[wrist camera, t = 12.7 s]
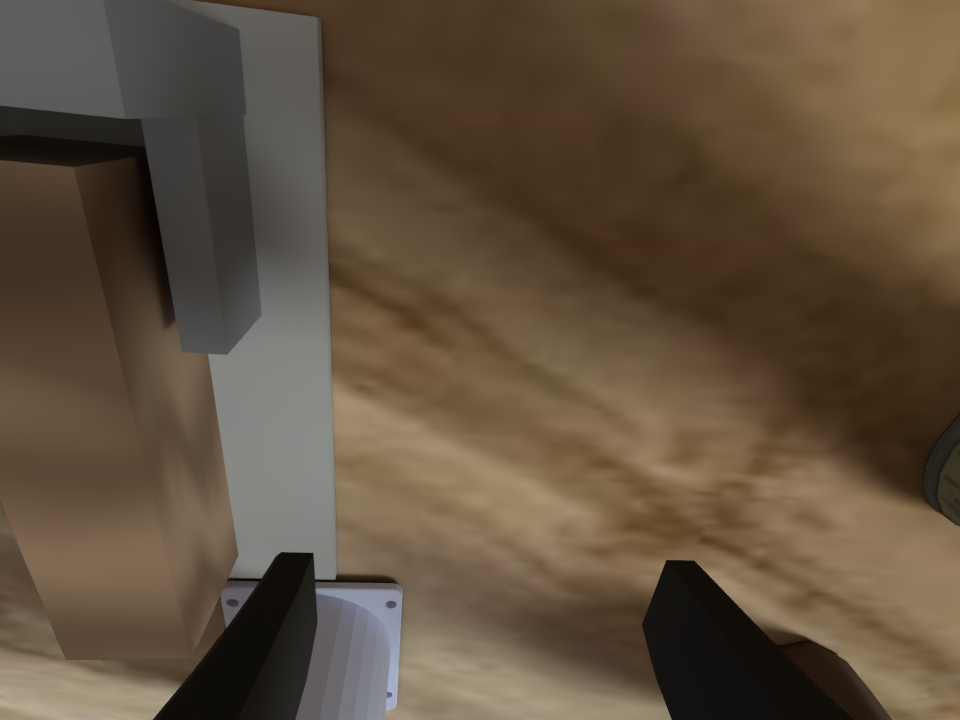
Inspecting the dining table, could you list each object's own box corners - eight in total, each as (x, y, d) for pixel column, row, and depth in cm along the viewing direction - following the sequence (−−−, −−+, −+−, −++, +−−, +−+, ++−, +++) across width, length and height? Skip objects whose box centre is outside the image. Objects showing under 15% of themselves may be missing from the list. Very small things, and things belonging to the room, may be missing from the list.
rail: (238, 555, 21) (191, 659, 17) (138, 553, 21) (66, 659, 17) (177, 150, 14) (73, 167, 10) (23, 134, 14) (-148, 145, 10)
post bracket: (337, 570, 23) (302, 728, 17) (51, 565, 21) (-94, 734, 16) (321, 19, 13) (230, -46, 8) (-186, -48, 12) (-753, -188, 6)
